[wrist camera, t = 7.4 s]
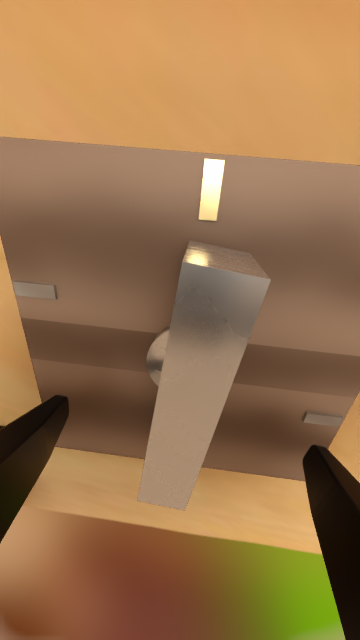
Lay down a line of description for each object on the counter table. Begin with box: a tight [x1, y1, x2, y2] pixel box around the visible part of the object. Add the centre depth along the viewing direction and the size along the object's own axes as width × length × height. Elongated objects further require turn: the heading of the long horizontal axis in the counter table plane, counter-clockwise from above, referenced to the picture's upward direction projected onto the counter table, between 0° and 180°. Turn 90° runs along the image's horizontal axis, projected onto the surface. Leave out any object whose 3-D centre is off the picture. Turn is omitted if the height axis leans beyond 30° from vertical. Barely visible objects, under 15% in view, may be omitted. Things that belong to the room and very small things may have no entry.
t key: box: [137, 241, 271, 511], centre depth 12 cm, size 12×4×6 cm, turn 170°
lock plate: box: [0, 137, 360, 481], centre depth 14 cm, size 18×18×3 cm
